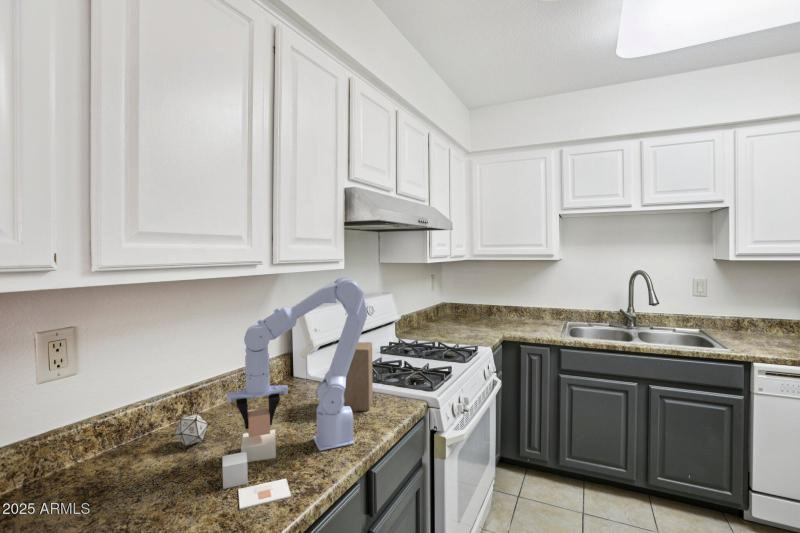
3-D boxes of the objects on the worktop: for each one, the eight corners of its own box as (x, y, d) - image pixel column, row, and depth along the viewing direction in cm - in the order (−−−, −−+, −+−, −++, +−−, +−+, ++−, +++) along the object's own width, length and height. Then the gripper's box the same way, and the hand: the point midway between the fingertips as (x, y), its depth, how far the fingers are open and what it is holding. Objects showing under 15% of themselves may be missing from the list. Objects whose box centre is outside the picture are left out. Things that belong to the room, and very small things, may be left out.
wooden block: (343, 399, 140) (343, 341, 139) (372, 399, 140) (372, 342, 139) (338, 411, 130) (337, 349, 129) (369, 411, 130) (368, 349, 129)
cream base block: (275, 444, 109) (275, 429, 109) (275, 458, 101) (275, 443, 101) (243, 448, 106) (243, 433, 106) (241, 464, 99) (240, 448, 99)
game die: (194, 454, 110) (207, 416, 116) (207, 452, 105) (221, 412, 111) (160, 447, 105) (176, 407, 111) (173, 445, 100) (188, 403, 106)
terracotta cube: (268, 425, 107) (267, 407, 106) (270, 433, 102) (269, 414, 102) (247, 429, 105) (247, 410, 104) (248, 437, 100) (248, 417, 100)
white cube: (246, 472, 95) (246, 451, 94) (247, 484, 90) (247, 461, 90) (223, 477, 93) (222, 456, 92) (223, 489, 88) (222, 466, 88)
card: (286, 479, 91) (286, 477, 91) (291, 497, 85) (291, 495, 85) (238, 490, 87) (238, 488, 87) (239, 509, 81) (239, 507, 81)
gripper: (226, 381, 96) (227, 437, 97) (289, 373, 102) (290, 426, 103) (226, 373, 103) (227, 425, 103) (285, 366, 109) (286, 416, 109)
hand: (258, 425), depth 103 cm, fingers closed on terracotta cube, 5 cm apart
